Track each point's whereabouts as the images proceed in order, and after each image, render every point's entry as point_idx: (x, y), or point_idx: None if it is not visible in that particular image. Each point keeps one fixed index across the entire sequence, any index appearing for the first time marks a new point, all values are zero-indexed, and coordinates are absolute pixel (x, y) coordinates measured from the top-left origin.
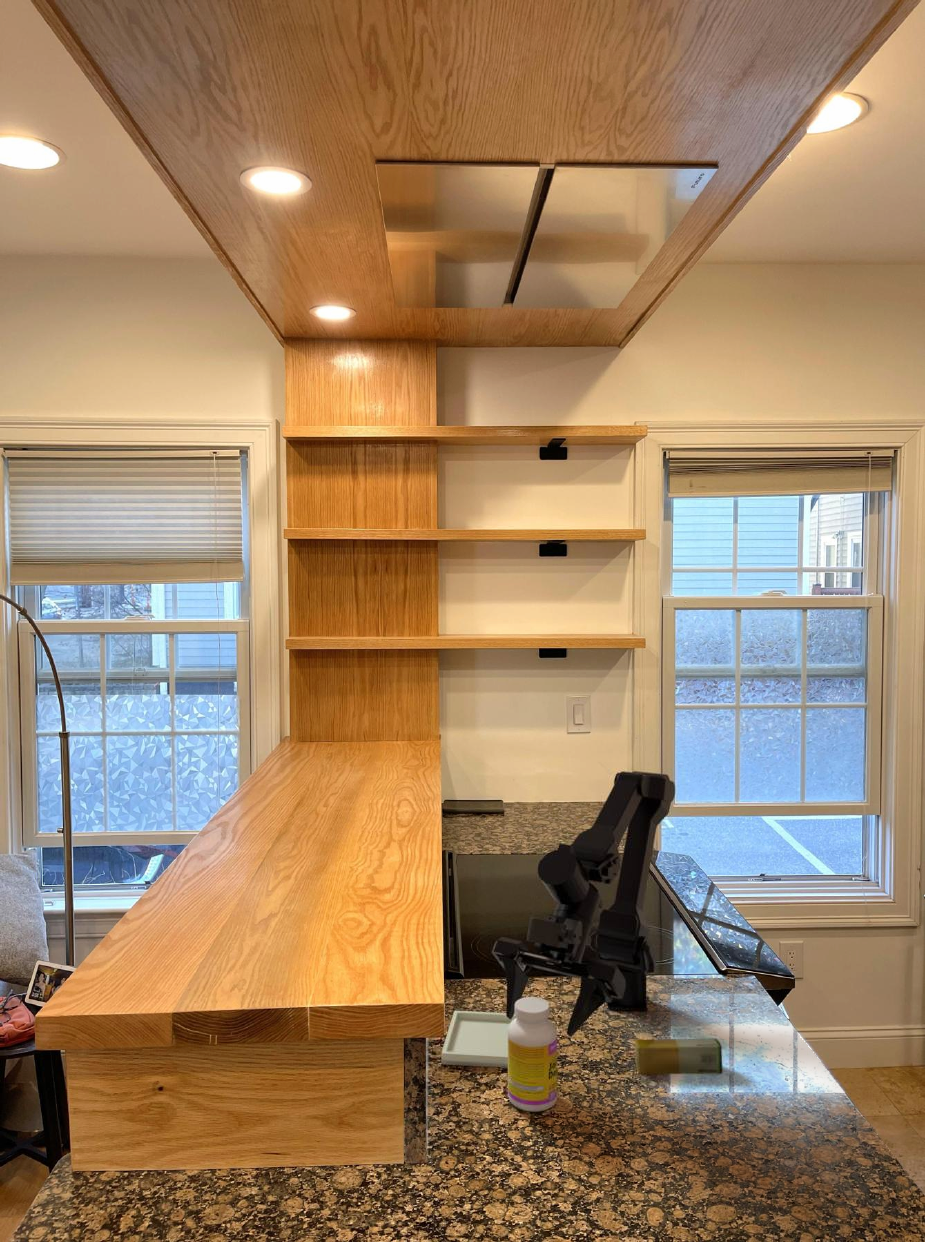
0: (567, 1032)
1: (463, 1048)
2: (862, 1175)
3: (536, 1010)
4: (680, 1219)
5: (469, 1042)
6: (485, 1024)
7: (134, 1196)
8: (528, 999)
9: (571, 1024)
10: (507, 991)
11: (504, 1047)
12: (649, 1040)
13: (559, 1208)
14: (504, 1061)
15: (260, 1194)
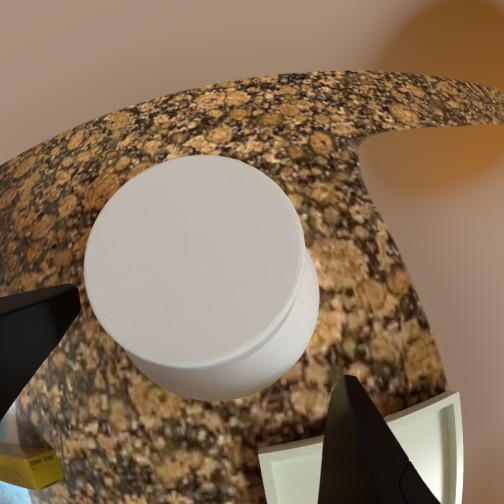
0: (74, 286)
1: (423, 452)
2: None
3: (153, 185)
4: (57, 145)
5: None
6: None
7: (493, 105)
8: (222, 317)
9: (47, 290)
10: (402, 452)
11: None
12: (17, 481)
13: (167, 115)
14: None
15: (444, 100)
